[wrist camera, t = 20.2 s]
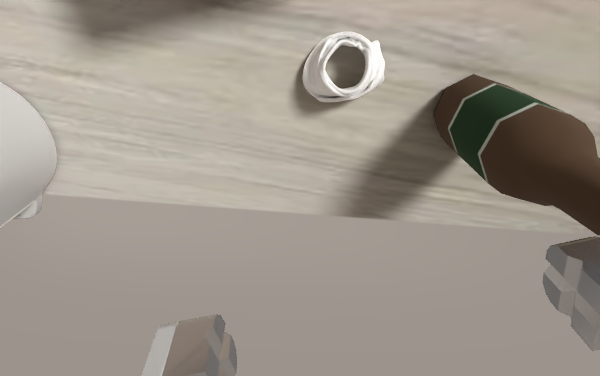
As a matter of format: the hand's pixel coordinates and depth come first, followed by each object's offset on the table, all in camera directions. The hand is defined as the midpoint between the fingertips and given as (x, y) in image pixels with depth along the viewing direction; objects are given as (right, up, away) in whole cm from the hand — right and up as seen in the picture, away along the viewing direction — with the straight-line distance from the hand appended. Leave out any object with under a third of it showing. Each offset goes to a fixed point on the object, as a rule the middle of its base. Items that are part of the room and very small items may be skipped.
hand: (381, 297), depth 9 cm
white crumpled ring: (+2, +15, +28) cm, 32 cm away
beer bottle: (+16, +11, +31) cm, 36 cm away
